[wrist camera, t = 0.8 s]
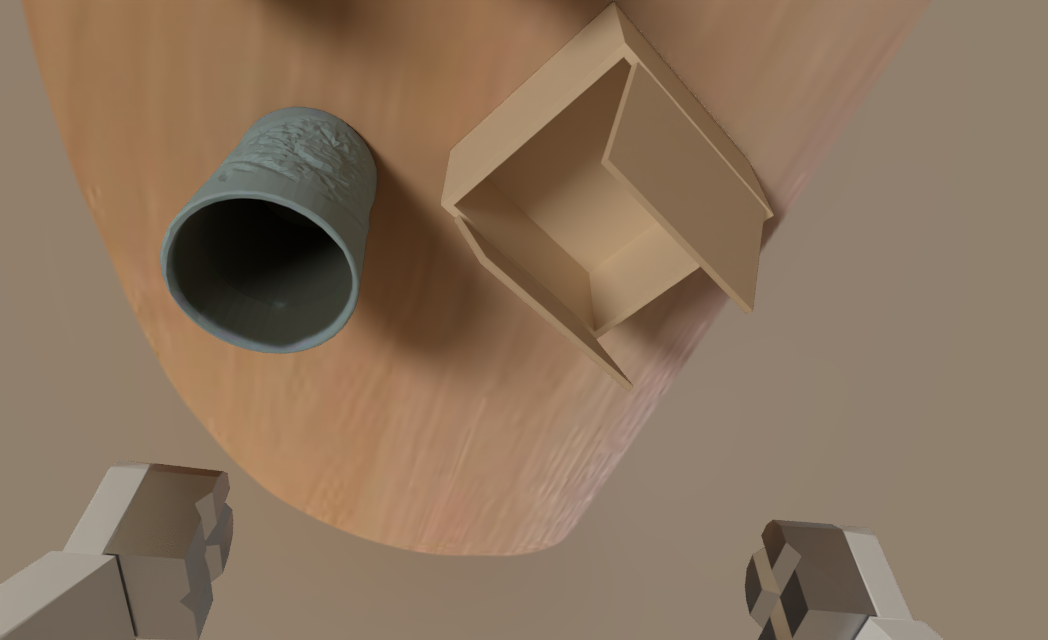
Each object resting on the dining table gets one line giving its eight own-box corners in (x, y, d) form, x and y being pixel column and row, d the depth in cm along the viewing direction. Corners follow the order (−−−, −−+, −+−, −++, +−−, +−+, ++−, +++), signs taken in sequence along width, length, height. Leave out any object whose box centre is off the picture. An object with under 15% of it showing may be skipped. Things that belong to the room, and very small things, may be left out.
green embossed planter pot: (358, 79, 48) (314, 172, 38) (412, 225, 54) (386, 338, 44) (200, 117, 49) (119, 216, 40) (269, 255, 55) (214, 370, 45)
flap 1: (486, 256, 38) (480, 263, 38) (633, 386, 43) (628, 392, 43) (458, 214, 45) (453, 220, 45) (589, 331, 49) (584, 335, 49)
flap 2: (745, 313, 40) (752, 310, 40) (601, 163, 35) (607, 159, 35) (758, 211, 44) (764, 208, 44) (631, 65, 40) (638, 61, 39)
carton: (613, 1, 45) (625, 42, 39) (747, 159, 50) (773, 215, 45) (450, 149, 50) (440, 204, 45) (587, 277, 56) (594, 341, 50)
